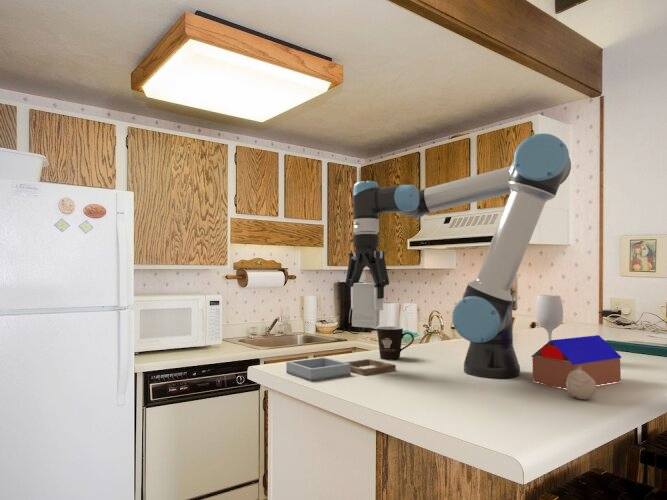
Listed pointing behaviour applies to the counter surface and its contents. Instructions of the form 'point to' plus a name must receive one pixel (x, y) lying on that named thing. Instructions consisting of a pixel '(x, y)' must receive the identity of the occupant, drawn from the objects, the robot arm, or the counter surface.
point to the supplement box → (364, 306)
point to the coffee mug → (391, 342)
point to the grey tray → (318, 368)
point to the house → (576, 361)
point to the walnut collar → (378, 369)
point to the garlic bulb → (580, 384)
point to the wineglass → (549, 312)
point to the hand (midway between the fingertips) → (366, 309)
